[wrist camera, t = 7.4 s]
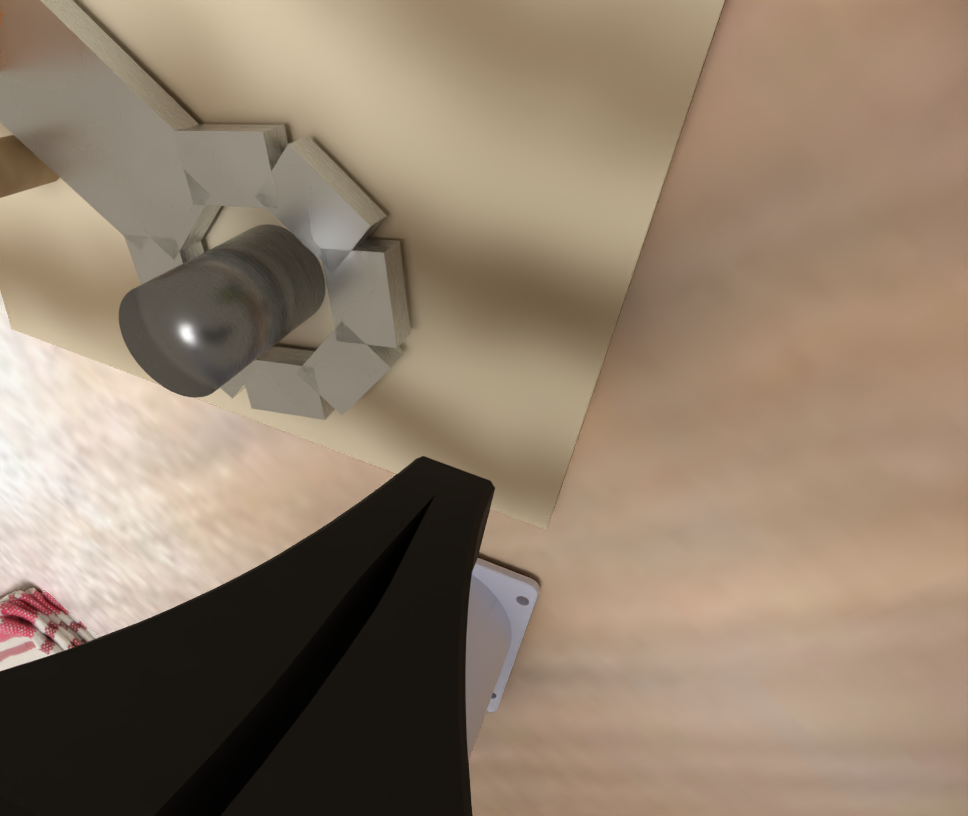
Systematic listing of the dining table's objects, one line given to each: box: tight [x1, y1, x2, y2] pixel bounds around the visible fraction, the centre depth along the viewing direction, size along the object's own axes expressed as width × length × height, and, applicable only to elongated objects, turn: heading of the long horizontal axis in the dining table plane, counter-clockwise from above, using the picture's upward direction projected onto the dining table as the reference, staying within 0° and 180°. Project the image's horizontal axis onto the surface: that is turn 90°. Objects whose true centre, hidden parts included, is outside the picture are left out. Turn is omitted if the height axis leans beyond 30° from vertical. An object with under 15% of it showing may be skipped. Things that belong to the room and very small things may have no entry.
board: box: [0, 0, 726, 530], centre depth 20 cm, size 19×23×1 cm
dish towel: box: [0, 588, 99, 671], centre depth 48 cm, size 17×23×4 cm
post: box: [119, 224, 325, 398], centre depth 19 cm, size 3×3×5 cm
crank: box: [0, 0, 411, 420], centre depth 18 cm, size 17×9×5 cm, turn 49°
